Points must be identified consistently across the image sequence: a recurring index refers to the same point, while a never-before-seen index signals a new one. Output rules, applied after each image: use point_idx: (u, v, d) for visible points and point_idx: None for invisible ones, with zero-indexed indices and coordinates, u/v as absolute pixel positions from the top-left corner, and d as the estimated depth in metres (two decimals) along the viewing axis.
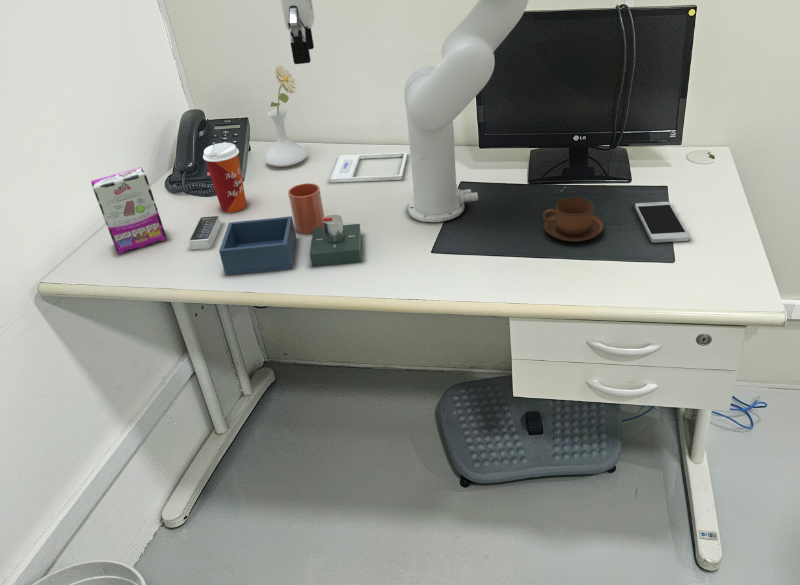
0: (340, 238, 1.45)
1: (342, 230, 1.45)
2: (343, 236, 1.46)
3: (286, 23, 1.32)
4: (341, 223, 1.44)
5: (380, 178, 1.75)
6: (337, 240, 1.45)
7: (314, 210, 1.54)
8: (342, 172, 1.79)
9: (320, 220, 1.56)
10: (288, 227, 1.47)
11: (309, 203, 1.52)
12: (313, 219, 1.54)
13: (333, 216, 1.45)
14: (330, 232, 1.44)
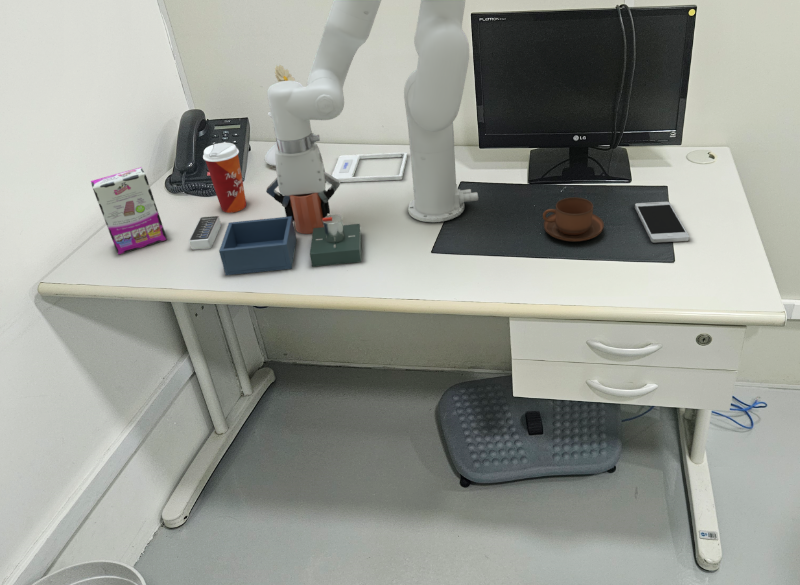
0: (340, 238, 1.45)
1: (342, 230, 1.45)
2: (343, 236, 1.46)
3: (324, 185, 1.52)
4: (341, 223, 1.44)
5: (380, 178, 1.75)
6: (337, 240, 1.45)
7: (314, 210, 1.54)
8: (342, 172, 1.79)
9: (320, 220, 1.56)
10: (288, 227, 1.47)
11: (309, 203, 1.52)
12: (313, 219, 1.54)
13: (333, 216, 1.45)
14: (330, 232, 1.44)
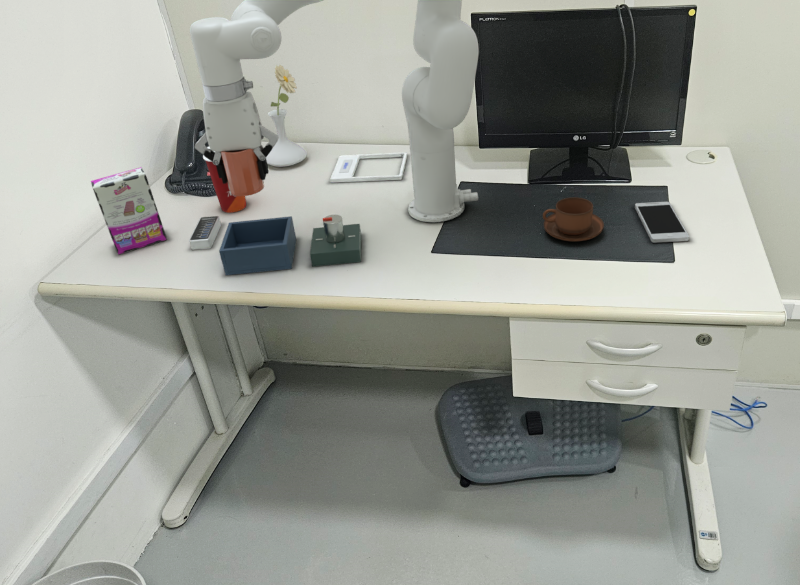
0: (340, 238, 1.45)
1: (342, 230, 1.45)
2: (343, 236, 1.46)
3: (259, 140, 1.34)
4: (341, 223, 1.44)
5: (380, 178, 1.75)
6: (337, 240, 1.45)
7: (249, 169, 1.36)
8: (342, 172, 1.79)
9: (257, 181, 1.38)
10: (288, 227, 1.47)
11: (243, 160, 1.34)
12: (248, 179, 1.36)
13: (333, 216, 1.45)
14: (330, 232, 1.44)
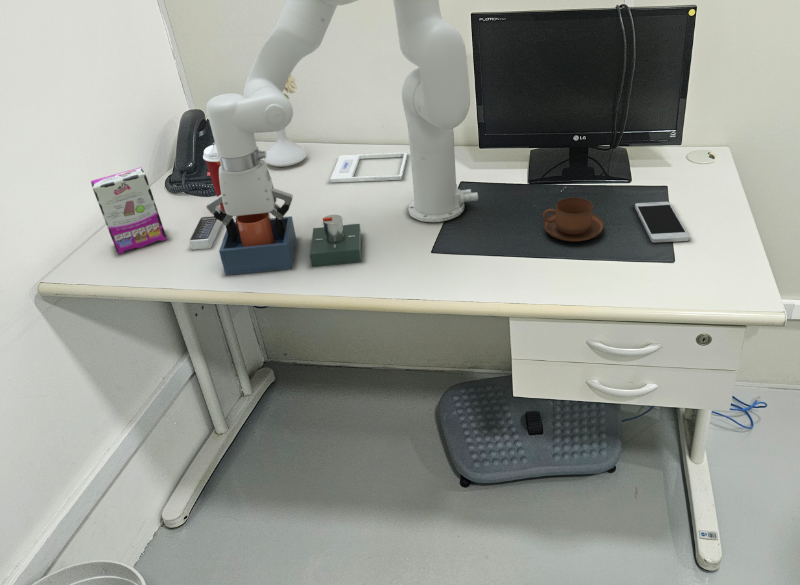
0: (340, 238, 1.45)
1: (342, 230, 1.45)
2: (343, 236, 1.46)
3: (273, 205, 1.41)
4: (341, 223, 1.44)
5: (380, 178, 1.75)
6: (337, 240, 1.45)
7: (264, 238, 1.44)
8: (342, 172, 1.79)
9: None
10: (288, 227, 1.47)
11: (257, 230, 1.42)
12: None
13: (333, 216, 1.45)
14: (330, 232, 1.44)
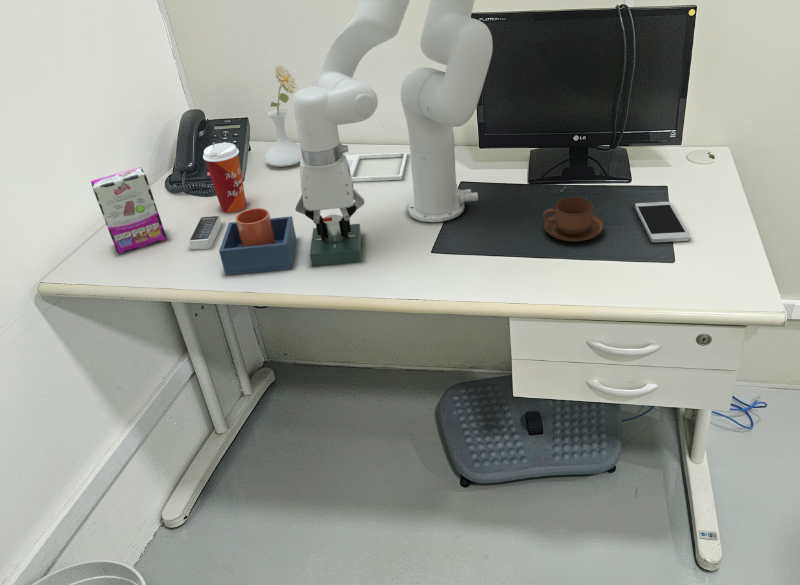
0: (340, 238, 1.45)
1: (342, 230, 1.45)
2: (343, 236, 1.46)
3: (352, 200, 1.40)
4: (341, 223, 1.44)
5: (380, 178, 1.75)
6: (337, 240, 1.45)
7: (264, 238, 1.44)
8: None
9: None
10: (288, 227, 1.47)
11: (257, 230, 1.42)
12: None
13: (333, 216, 1.45)
14: (330, 232, 1.44)
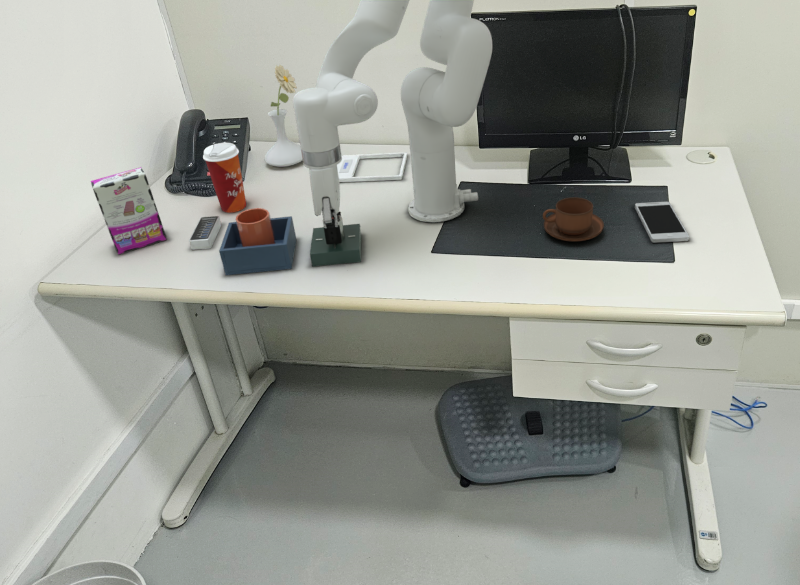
0: None
1: None
2: None
3: None
4: None
5: (380, 178, 1.75)
6: None
7: (264, 238, 1.44)
8: (342, 172, 1.79)
9: None
10: (288, 227, 1.47)
11: (257, 230, 1.42)
12: None
13: None
14: (343, 228, 1.45)
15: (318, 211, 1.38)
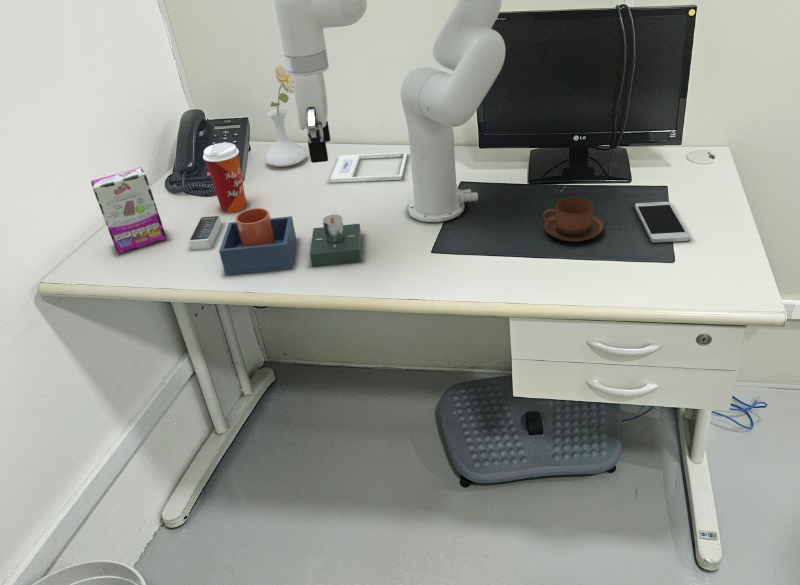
0: None
1: None
2: None
3: None
4: None
5: (380, 178, 1.75)
6: None
7: (264, 238, 1.44)
8: (342, 172, 1.79)
9: None
10: (288, 227, 1.47)
11: (257, 230, 1.42)
12: None
13: (327, 219, 1.45)
14: (343, 228, 1.45)
15: (303, 124, 1.28)
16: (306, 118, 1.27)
